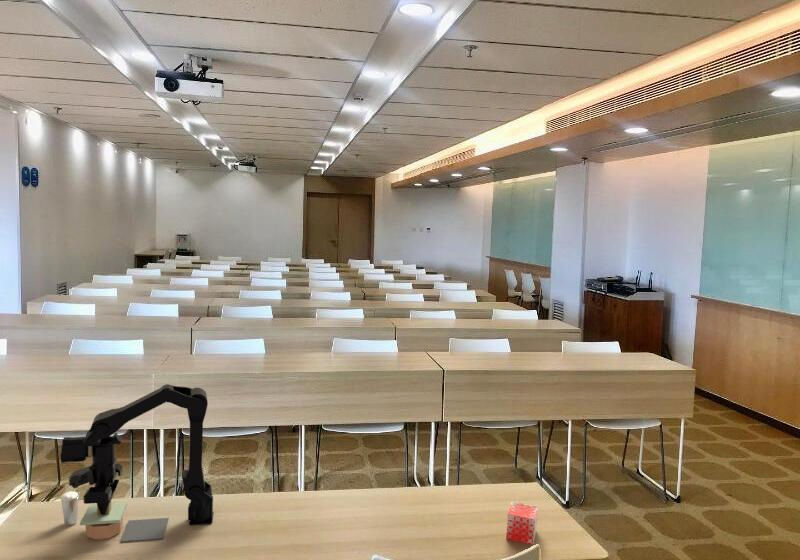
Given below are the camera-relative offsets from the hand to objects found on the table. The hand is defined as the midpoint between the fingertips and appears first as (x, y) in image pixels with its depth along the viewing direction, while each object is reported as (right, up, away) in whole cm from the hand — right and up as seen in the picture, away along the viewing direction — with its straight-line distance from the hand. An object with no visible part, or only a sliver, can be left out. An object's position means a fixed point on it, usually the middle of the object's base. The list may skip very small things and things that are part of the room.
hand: (104, 511), depth 172 cm
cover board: (0, -1, 0) cm, 1 cm away
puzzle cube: (+120, -11, +10) cm, 121 cm away
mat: (+11, -6, +2) cm, 13 cm away
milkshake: (-12, -5, +4) cm, 13 cm away
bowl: (0, -6, +1) cm, 6 cm away
